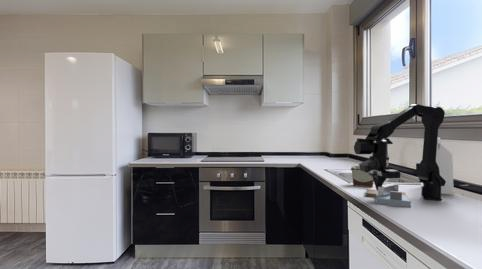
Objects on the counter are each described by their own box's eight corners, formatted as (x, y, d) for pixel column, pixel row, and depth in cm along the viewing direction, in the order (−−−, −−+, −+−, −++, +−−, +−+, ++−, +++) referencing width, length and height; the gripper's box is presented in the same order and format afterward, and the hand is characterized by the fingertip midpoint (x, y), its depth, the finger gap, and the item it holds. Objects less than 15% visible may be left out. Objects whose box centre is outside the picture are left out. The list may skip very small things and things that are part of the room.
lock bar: (391, 190, 127) (391, 182, 127) (399, 191, 125) (400, 184, 124) (376, 194, 120) (376, 186, 120) (385, 196, 117) (385, 187, 117)
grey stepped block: (407, 200, 120) (407, 188, 119) (410, 206, 110) (410, 193, 110) (376, 197, 125) (376, 185, 125) (376, 203, 115) (376, 190, 115)
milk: (453, 194, 131) (455, 138, 131) (424, 192, 136) (425, 137, 136) (447, 189, 142) (448, 137, 142) (420, 187, 147) (421, 137, 146)
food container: (375, 185, 151) (376, 166, 151) (375, 187, 146) (376, 168, 146) (351, 183, 157) (351, 165, 156) (350, 185, 151) (350, 166, 151)
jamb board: (405, 195, 128) (405, 190, 128) (407, 200, 120) (407, 195, 120) (366, 192, 135) (366, 187, 135) (366, 196, 127) (366, 191, 127)
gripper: (349, 151, 129) (348, 185, 130) (377, 158, 110) (376, 197, 112) (371, 151, 131) (369, 184, 132) (402, 157, 113) (400, 196, 114)
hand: (377, 190), depth 122 cm, fingers closed
